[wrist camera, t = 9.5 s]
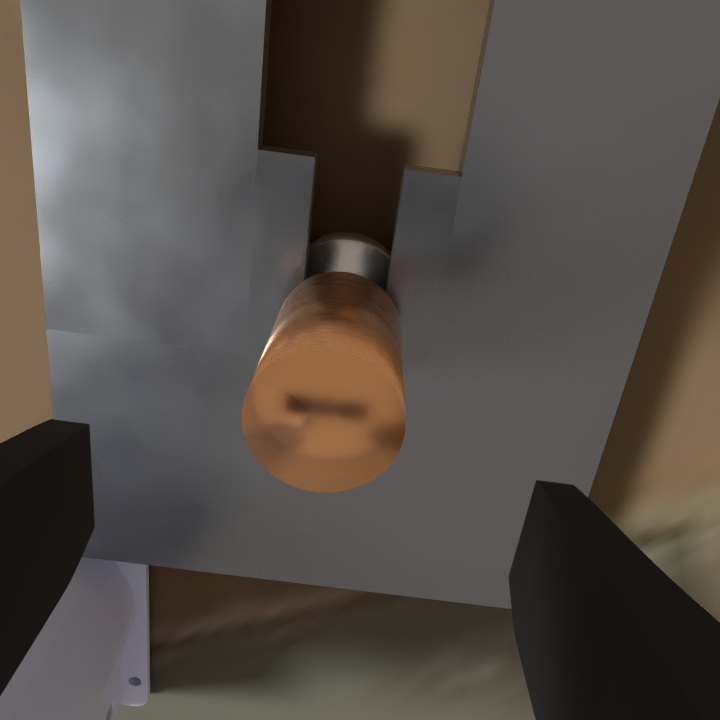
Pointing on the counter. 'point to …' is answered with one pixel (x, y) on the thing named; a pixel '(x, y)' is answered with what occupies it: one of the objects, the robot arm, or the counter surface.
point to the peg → (331, 373)
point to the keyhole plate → (404, 283)
